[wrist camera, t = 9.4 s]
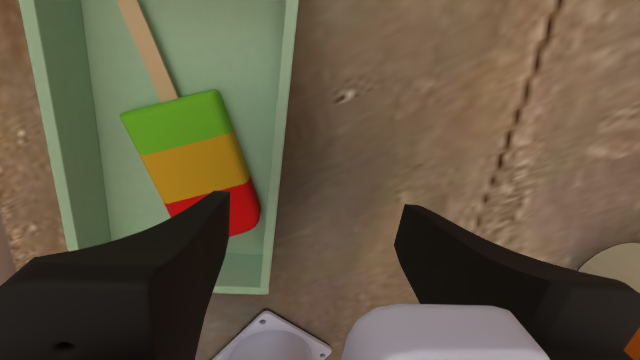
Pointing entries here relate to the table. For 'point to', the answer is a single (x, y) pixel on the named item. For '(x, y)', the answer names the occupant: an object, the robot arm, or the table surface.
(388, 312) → the robot arm
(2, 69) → the table surface
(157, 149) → the popsicle
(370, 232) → the table surface
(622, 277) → the reusable coffee cup
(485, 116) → the table surface
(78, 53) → the tote
